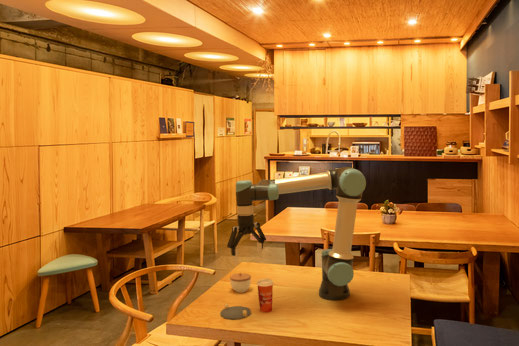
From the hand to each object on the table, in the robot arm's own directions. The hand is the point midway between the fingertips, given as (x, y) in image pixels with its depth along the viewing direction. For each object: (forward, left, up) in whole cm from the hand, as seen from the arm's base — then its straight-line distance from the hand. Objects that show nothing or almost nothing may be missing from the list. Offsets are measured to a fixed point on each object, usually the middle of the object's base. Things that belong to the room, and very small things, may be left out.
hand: (248, 259), depth 236 cm
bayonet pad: (+6, +5, -24) cm, 25 cm away
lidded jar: (+5, -26, -24) cm, 36 cm away
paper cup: (-8, +2, -24) cm, 25 cm away
